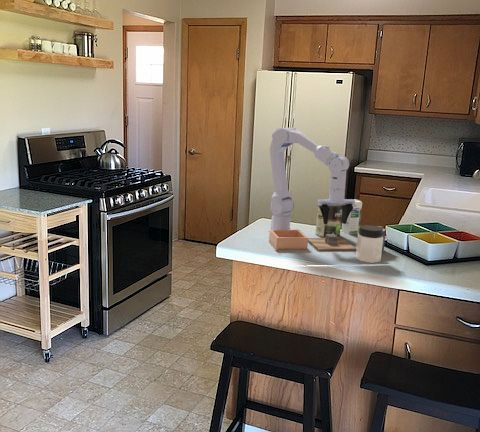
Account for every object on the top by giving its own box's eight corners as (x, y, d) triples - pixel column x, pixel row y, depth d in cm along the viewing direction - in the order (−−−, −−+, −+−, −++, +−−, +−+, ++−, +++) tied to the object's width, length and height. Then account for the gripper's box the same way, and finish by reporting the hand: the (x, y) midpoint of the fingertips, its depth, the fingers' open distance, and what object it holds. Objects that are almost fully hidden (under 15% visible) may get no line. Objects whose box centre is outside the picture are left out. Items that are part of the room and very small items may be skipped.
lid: (306, 239, 202) (307, 230, 202) (342, 239, 205) (342, 230, 204) (318, 251, 188) (319, 240, 187) (356, 250, 191) (357, 240, 190)
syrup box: (348, 235, 215) (351, 201, 212) (340, 231, 220) (343, 199, 217) (359, 234, 217) (362, 201, 214) (351, 231, 222) (355, 198, 219)
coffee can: (343, 236, 213) (346, 203, 210) (334, 241, 205) (337, 207, 202) (320, 231, 219) (323, 199, 215) (311, 236, 210) (313, 203, 207)
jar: (367, 265, 176) (371, 232, 173) (350, 258, 183) (353, 226, 180) (385, 261, 181) (389, 229, 178) (368, 255, 187) (371, 224, 185)
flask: (378, 250, 195) (381, 223, 192) (386, 252, 193) (389, 224, 191) (367, 255, 188) (370, 227, 186) (374, 256, 186) (377, 228, 184)
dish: (268, 241, 199) (269, 229, 198) (298, 241, 201) (299, 229, 200) (276, 250, 188) (276, 238, 187) (307, 250, 190) (308, 237, 189)
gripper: (323, 190, 185) (321, 226, 188) (359, 190, 189) (356, 225, 192) (316, 187, 192) (313, 222, 195) (351, 187, 195) (348, 221, 198)
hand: (334, 223), depth 194 cm, fingers open, 7 cm apart
